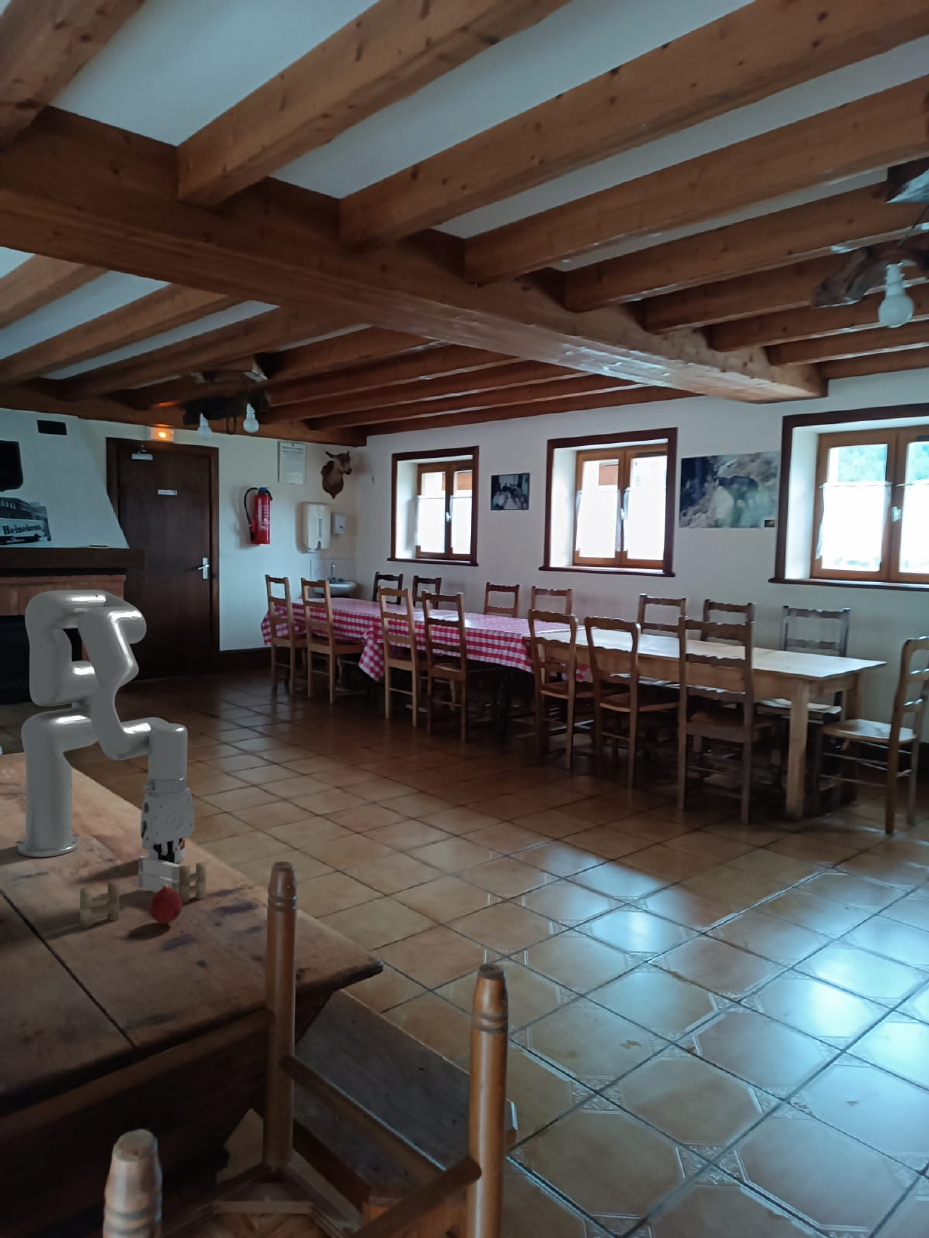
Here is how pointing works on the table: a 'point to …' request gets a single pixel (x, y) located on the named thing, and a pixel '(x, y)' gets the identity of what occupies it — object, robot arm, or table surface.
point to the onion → (165, 905)
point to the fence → (113, 895)
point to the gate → (157, 874)
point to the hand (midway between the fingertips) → (165, 870)
